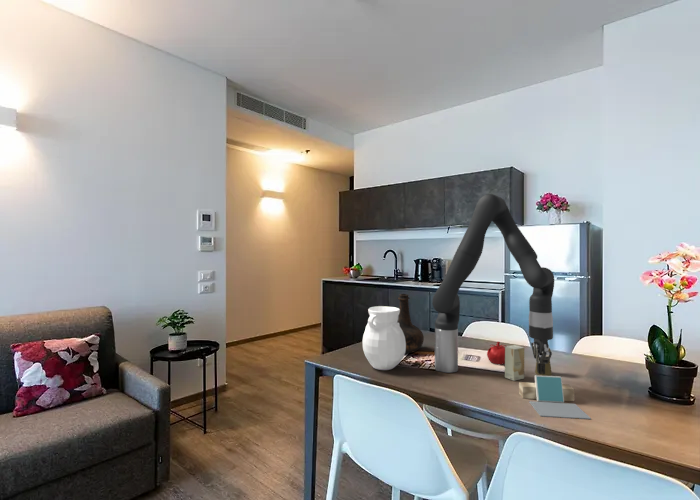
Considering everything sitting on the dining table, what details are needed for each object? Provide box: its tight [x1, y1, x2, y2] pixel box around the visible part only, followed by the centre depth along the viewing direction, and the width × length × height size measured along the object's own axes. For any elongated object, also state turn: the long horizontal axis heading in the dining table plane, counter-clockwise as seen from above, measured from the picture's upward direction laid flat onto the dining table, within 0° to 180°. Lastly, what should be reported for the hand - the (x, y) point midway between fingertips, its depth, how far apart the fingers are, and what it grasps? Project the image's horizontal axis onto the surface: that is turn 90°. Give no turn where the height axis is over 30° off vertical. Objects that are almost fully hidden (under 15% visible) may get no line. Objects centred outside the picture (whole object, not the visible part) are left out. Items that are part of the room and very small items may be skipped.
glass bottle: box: [397, 293, 425, 354], centre depth 177 cm, size 18×18×28 cm
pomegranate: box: [486, 341, 508, 366], centre depth 158 cm, size 10×10×9 cm
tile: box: [533, 374, 565, 403], centre depth 118 cm, size 8×3×8 cm, turn 82°
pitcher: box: [361, 305, 406, 371], centre depth 153 cm, size 19×18×25 cm
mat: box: [528, 400, 592, 420], centre depth 111 cm, size 14×10×1 cm
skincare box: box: [504, 344, 525, 382], centre depth 139 cm, size 6×4×12 cm
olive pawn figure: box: [534, 347, 553, 376], centre depth 144 cm, size 6×6×11 cm
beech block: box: [518, 381, 575, 402], centre depth 121 cm, size 16×4×4 cm, turn 82°
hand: (541, 373), depth 126 cm, fingers closed
